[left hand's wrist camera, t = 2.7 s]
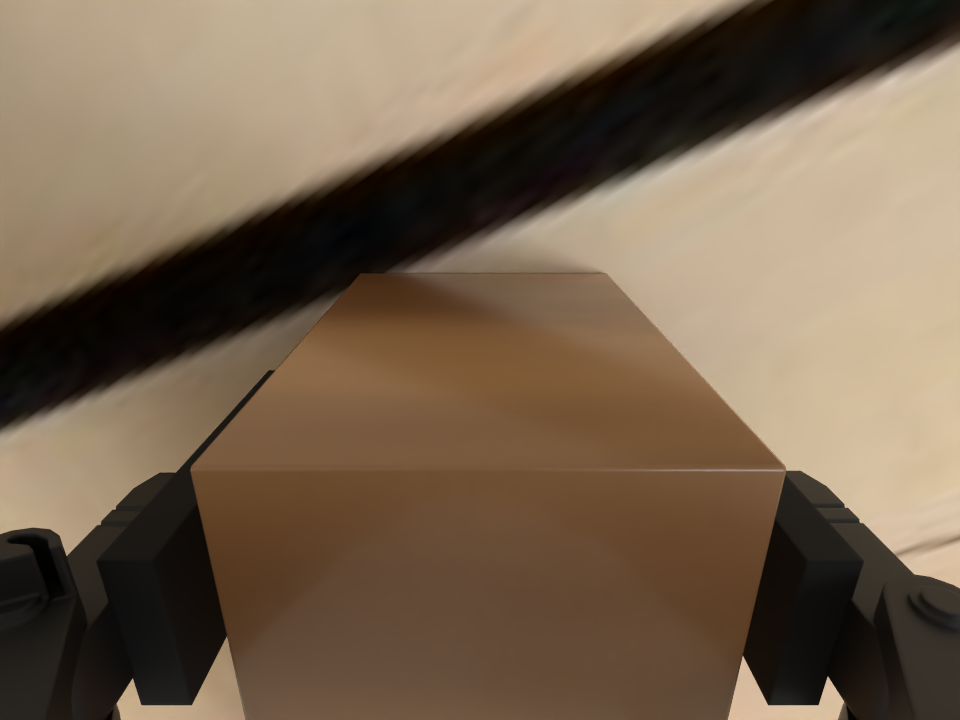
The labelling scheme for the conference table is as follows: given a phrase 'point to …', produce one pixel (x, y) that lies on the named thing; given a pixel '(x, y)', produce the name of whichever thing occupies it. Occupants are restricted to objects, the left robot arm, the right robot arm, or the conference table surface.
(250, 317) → the conference table surface
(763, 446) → the bar
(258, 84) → the conference table surface
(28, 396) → the conference table surface
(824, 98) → the conference table surface
